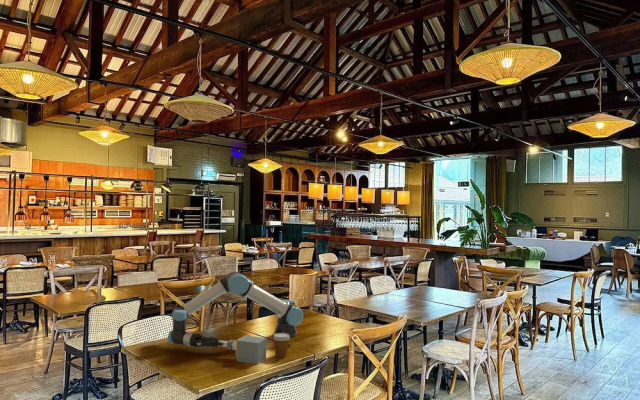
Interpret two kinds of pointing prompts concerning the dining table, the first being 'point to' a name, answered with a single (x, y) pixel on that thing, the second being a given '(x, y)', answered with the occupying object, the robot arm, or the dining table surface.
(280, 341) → the disposable coffee cup
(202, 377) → the dining table surface
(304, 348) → the dining table surface
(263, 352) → the block
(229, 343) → the steel peg
